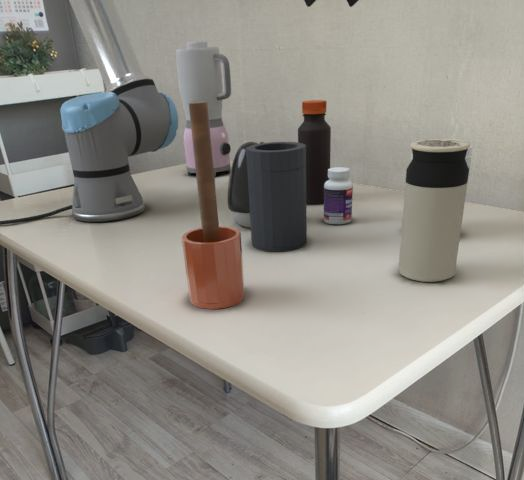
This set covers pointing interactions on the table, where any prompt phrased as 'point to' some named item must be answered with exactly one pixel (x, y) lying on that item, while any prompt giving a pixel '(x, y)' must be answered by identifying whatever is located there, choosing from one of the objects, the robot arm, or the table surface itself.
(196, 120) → the brush
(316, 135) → the vinegar
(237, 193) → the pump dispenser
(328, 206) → the pill bottle
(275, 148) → the utensil holder
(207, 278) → the pen pot
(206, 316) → the table surface
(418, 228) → the travel mug
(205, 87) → the blender
